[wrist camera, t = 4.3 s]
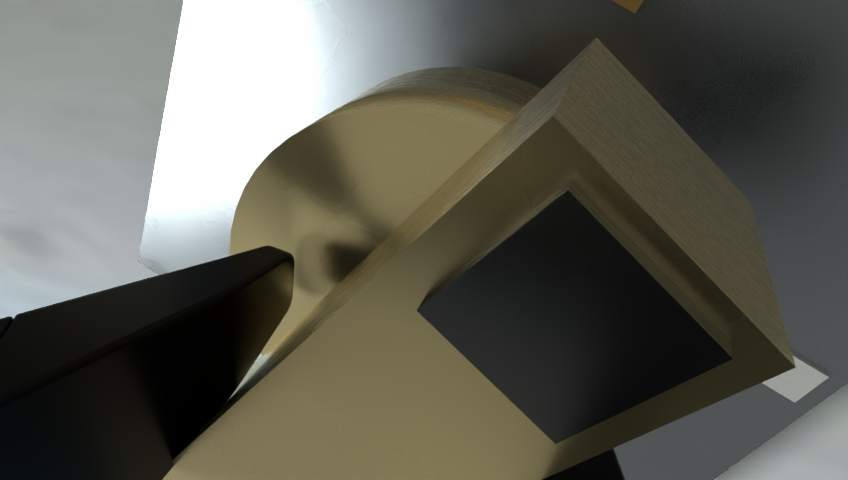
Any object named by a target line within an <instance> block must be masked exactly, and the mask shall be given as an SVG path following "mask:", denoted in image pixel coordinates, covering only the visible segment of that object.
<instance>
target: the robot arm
mask: <svg viewBox="0 0 848 480" xmlns="http://www.w3.org/2000/svg"><path fill="white" fill-rule="evenodd" d="M294 267H295V261H294V257H293V255H292V254H291V253H289V252H287V251H284V250H281V249H279V248H276V247H273V246H263V247H259V248H255V249H252V250H248V251H245V252H241V253H237V254H234V255H230V256H226V257H223V258H219V259H216V260H212V261H208V262H205V263H201V264H198V265H194V266H190V267H187V268H183V269H180V270H176V271H172V272H169V273H165V274H161V275H158V276H154V277H151V278H147V279H143V280H140V281H136V282H133V283H129V284H125V285H122V286H118V287H114V288H111V289H107V290H104V291H100V292H96V293H93V294H89V295H85V296H82V297H78V298H75V299H71V300H67V301H64V302H60V303H56V304H53V305H49V306H46V307H42V308H38V309H35V310H31V311H27V312H24V313H20V314H17V315H16V316H15V318H13V317H5V318H2V319H0V480H163V478H164V477H165V476H166V475H167V474H168V472H169V471H170V470H171V469H172V467H173V459H174V458H175V457H176V456H177V455H178V454H179V453H180V452H181V451H182V450H183V449H184V447H185V446H186V445H187V444H188V443H189V442H190V441H191V440H192V439H193V438H194V437H195V436H196V434H197V433H198V432H199V431H200V430H201V429H202V428H203V427H204V426H205V425H206V424H207V422H208V421H209V420H210V419H211V418H212V417H213V416H214V415H215V414H216V413H217V412H218V411H219V409H220V408H221V407H222V406H223V405H224V404H225V403H226V402H227V401H228V399H229V398H230V397H231V396H232V394H233V393H234V392H235V391H236V389H237V388H238V386H239V385H240V383H241V382H242V380H243V379H244V378H245V376H246V374H247V373H248V371H249V370H250V368H251V367H252V365H253V364H254V362H255V361H256V359H257V358H258V356H259V355H260V353H261V352H262V350H263V348H264V347H265V345H266V344H267V342H268V341H269V339H270V338H271V336H272V335H273V333H274V332H275V330H276V329H277V327H278V326H279V324H280V322H281V321H282V319H283V318H284V316H285V315H286V313H287V312H288V310H289V308H290V305H291V302H292V298H293V284H294ZM542 480H625V478H624V475H623V472H622V469H621V467H620V464H619V461H618V458H617V456H616V453H615V450H614V448H612V449H610V450H608V451H606V452H603V453H601V454H599V455H597V456H594V457H592V458H590V459H588V460H585V461H583V462H581V463H579V464H576V465H574V466H572V467H569V468H567V469H565V470H563V471H560V472H558V473H556V474H554V475H551V476H549V477H547V478H545V479H542Z"/></svg>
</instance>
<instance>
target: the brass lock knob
mask: <svg viewBox="0 0 848 480" xmlns="http://www.w3.org/2000/svg"><path fill="white" fill-rule="evenodd" d="M263 246H273V247H276V248H279V249H281V250H284V251H287V252H289V253H291V254H292V255H293V257H294V261H295V267H294V284H293V298H292V302H291V305H290V308H289V310H288V312H287V313H286V315H285V316H284V318H283V319H282V321H281V322H280V324H279V326H278V327H277V329H276V330H275V332H274V333H273V335H272V336H271V338H270V339H269V341H268V342H267V344H266V345H265V347H264V348H263V350H262V352H261V353H262V355H263V356H262V357H261V358H260V359H259V360H258V361H257V362H256V363H255V364H254V365H253V366H252V367H251V368H250V370H249V371H248V373H247V374H246V376H245V378H244V379H243V380H242V382H241V383H240V385H239V386H238V388H237V389H236V391H235V392H234V393H233V394H232V396H231V397H230V398H229V399H228V401H227V402H226V403H225V404H224V405H223V406H222V407H221V408H220V409H219V411H218V412H217V413H216V414H215V415H214V416H213V417H212V418H211V419H210V420H209V421H208V422H207V424H206V425H205V426H204V427H203V428H202V429H201V430H200V431H199V432H198V433H197V434H196V436H195V437H194V438H193V439H192V440H191V441H190V442H189V443H188V444H187V445H186V446H185V447H184V449H183V450H182V451H181V452H180V453H179V454H178V455H177V456H176V457H175V458H174V459H173V467H172V469H171V470H170V471H169V472H168V474H167V475H166V476H165V477H164V478H163V480H542V479H545V478H547V477H549V476H551V475H554V474H556V473H558V472H560V471H563V470H565V469H567V468H569V467H572V466H574V465H576V464H579V463H581V462H583V461H585V460H588V459H590V458H592V457H594V456H597V455H599V454H601V453H603V452H606V451H608V450H610V449H612V448H615V447H617V446H619V445H622V444H624V443H626V442H628V441H631V440H633V439H635V438H637V437H640V436H642V435H644V434H646V433H649V432H651V431H653V430H655V429H658V428H660V427H662V426H665V425H667V424H669V423H671V422H674V421H676V420H678V419H680V418H683V417H685V416H687V415H689V414H692V413H694V412H696V411H698V410H701V409H703V408H705V407H708V406H710V405H712V404H714V403H717V402H719V401H721V400H723V399H726V398H728V397H730V396H732V395H735V394H737V393H739V392H741V391H744V390H746V389H748V388H751V387H753V386H755V385H757V384H760V383H762V382H764V381H766V380H769V379H771V378H773V377H775V376H778V375H780V374H782V373H784V372H787V371H789V370H791V369H794V368H796V366H795V362H794V359H793V355H792V352H791V348H790V344H789V341H788V337H787V333H786V330H785V326H784V322H783V319H782V315H781V312H780V308H779V304H778V301H777V297H776V293H775V290H774V286H773V283H772V279H771V275H770V272H769V268H768V264H767V261H766V257H765V254H764V250H763V246H762V243H761V239H760V235H759V232H758V228H757V225H756V221H755V217H754V214H753V210H752V206H751V203H750V200H749V199H748V198H747V197H746V196H745V195H744V194H743V193H742V192H741V191H740V190H739V188H738V187H737V186H736V185H735V184H734V183H733V182H732V181H731V180H730V179H729V178H728V177H727V176H726V175H725V174H724V172H723V171H722V170H721V169H720V168H719V167H718V166H717V165H716V164H715V163H714V162H713V161H712V160H711V159H710V158H709V156H708V155H707V154H706V153H705V152H704V151H703V150H702V149H701V148H700V147H699V146H698V145H697V144H696V143H695V142H694V140H693V139H692V138H691V137H690V136H689V135H688V134H687V133H686V132H685V131H684V130H683V129H682V128H681V127H680V126H679V124H678V123H677V122H676V121H675V120H674V119H673V118H672V117H671V116H670V115H669V114H668V113H667V112H666V111H665V109H664V108H663V107H662V106H661V105H660V104H659V103H658V102H657V101H656V100H655V99H654V98H653V97H652V96H651V95H650V93H649V92H648V91H647V90H646V89H645V88H644V87H643V86H642V85H641V84H640V83H639V82H638V81H637V80H636V79H635V77H634V76H633V75H632V74H631V73H630V72H629V71H628V70H627V69H626V68H625V67H624V66H623V65H622V64H621V63H620V61H619V60H618V59H617V58H616V57H615V56H614V55H613V54H612V53H611V52H610V51H609V50H608V49H607V48H606V47H605V45H604V44H603V43H602V42H601V41H600V40H599V39H598V38H597V37H596V38H595V39H594V40H593V41H592V42H591V43H590V44H589V45H588V46H587V47H586V48H585V49H584V50H583V51H582V52H581V53H580V54H579V55H578V56H577V57H576V58H574V59H573V60H572V61H571V62H570V63H569V64H568V65H567V66H566V67H565V68H564V69H563V70H562V71H561V72H560V73H559V74H558V75H557V76H556V77H555V78H554V79H552V80H551V81H550V82H549V83H548V84H547V85H546V86H545V87H544V88H543V89H542V88H540V87H538V86H536V85H534V84H532V83H529V82H526V81H524V80H521V79H518V78H515V77H513V76H510V75H507V74H503V73H498V72H494V71H489V70H484V69H479V68H466V67H439V68H427V69H422V70H418V71H413V72H408V73H404V74H402V75H399V76H396V77H393V78H391V79H388V80H385V81H383V82H381V83H379V84H378V85H376V86H374V87H372V88H370V89H369V90H367V91H365V92H363V93H362V94H360V95H358V96H357V97H355V98H353V99H352V100H350V101H348V102H347V103H345V104H343V105H342V106H340V107H339V108H337V109H335V110H334V111H332V112H330V113H329V114H327V115H325V116H324V117H322V118H320V119H319V120H317V121H315V122H314V123H312V124H310V125H309V126H307V127H305V128H304V129H302V130H300V131H299V132H297V133H296V134H294V135H292V136H291V137H289V138H288V139H286V140H285V141H284V142H283V143H282V144H280V145H279V146H278V147H277V148H275V149H274V150H273V151H272V152H270V153H269V155H268V156H267V157H266V158H265V159H264V160H263V161H262V163H261V164H260V165H259V166H258V167H257V168H256V169H255V171H254V173H253V174H252V176H251V177H250V179H249V181H248V182H247V184H246V186H245V187H244V189H243V192H242V194H241V197H240V199H239V202H238V204H237V207H236V210H235V214H234V219H233V223H232V228H231V238H230V255H234V254H237V253H241V252H245V251H248V250H252V249H255V248H259V247H263Z"/></svg>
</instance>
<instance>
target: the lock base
mask: <svg viewBox="0 0 848 480" xmlns="http://www.w3.org/2000/svg"><path fill="white" fill-rule="evenodd" d="M596 37H597V38H598V39H599V40H600V41H601V42H602V43H603V44H604V45H605V47H606V48H607V49H608V50H609V51H610V52H611V53H612V54H613V55H614V56H615V57H616V58H617V59H618V60H619V61H620V63H621V64H622V65H623V66H624V67H625V68H626V69H627V70H628V71H629V72H630V73H631V74H632V75H633V76H634V77H635V79H636V80H637V81H638V82H639V83H640V84H641V85H642V86H643V87H644V88H645V89H646V90H647V91H648V92H649V93H650V95H651V96H652V97H653V98H654V99H655V100H656V101H657V102H658V103H659V104H660V105H661V106H662V107H663V108H664V109H665V111H666V112H667V113H668V114H669V115H670V116H671V117H672V118H673V119H674V120H675V121H676V122H677V123H678V124H679V126H680V127H681V128H682V129H683V130H684V131H685V132H686V133H687V134H688V135H689V136H690V137H691V138H692V139H693V140H694V142H695V143H696V144H697V145H698V146H699V147H700V148H701V149H702V150H703V151H704V152H705V153H706V154H707V155H708V156H709V158H710V159H711V160H712V161H713V162H714V163H715V164H716V165H717V166H718V167H719V168H720V169H721V170H722V171H723V172H724V174H725V175H726V176H727V177H728V178H729V179H730V180H731V181H732V182H733V183H734V184H735V185H736V186H737V187H738V188H739V190H740V191H741V192H742V193H743V194H744V195H745V196H746V197H747V198H748V199H749V200H750V203H751V206H752V210H753V214H754V217H755V221H756V225H757V228H758V232H759V235H760V239H761V243H762V246H763V250H764V254H765V257H766V261H767V264H768V268H769V272H770V275H771V279H772V283H773V286H774V290H775V293H776V297H777V301H778V304H779V308H780V312H781V315H782V319H783V322H784V326H785V330H786V333H787V337H788V341H789V344H790V348H791V352H792V355H793V359H794V362H795V366H796V368H794V369H791V370H789V371H787V372H784V373H782V374H780V375H778V376H775V377H773V378H771V379H769V380H766V381H764V382H762V383H760V384H757V385H755V386H753V387H751V388H748V389H746V390H744V391H741V392H739V393H737V394H735V395H732V396H730V397H728V398H726V399H723V400H721V401H719V402H717V403H714V404H712V405H710V406H708V407H705V408H703V409H701V410H698V411H696V412H694V413H692V414H689V415H687V416H685V417H683V418H680V419H678V420H676V421H674V422H671V423H669V424H667V425H665V426H662V427H660V428H658V429H655V430H653V431H651V432H649V433H646V434H644V435H642V436H640V437H637V438H635V439H633V440H631V441H628V442H626V443H624V444H622V445H619V446H617V447H615V448H614V450H615V453H616V456H617V458H618V461H619V464H620V467H621V469H622V472H623V475H624V478H625V480H713V479H715V478H716V477H717V476H719V475H720V474H721V473H723V472H724V471H726V470H727V469H728V468H730V467H731V466H733V465H734V464H735V463H737V462H738V461H740V460H741V459H742V458H744V457H745V456H746V455H748V454H749V453H751V452H752V451H753V450H755V449H756V448H758V447H759V446H760V445H762V444H763V443H764V442H766V441H767V440H769V439H770V438H771V437H773V436H774V435H776V434H777V433H778V432H780V431H781V430H783V429H784V428H785V427H787V426H788V425H789V424H791V423H792V422H794V421H795V420H796V419H798V418H799V417H801V416H802V415H803V414H805V413H806V412H807V411H809V410H810V409H812V408H813V407H814V406H816V405H817V404H819V403H820V402H821V401H823V400H824V399H826V398H827V397H828V396H830V395H831V394H832V393H834V392H835V391H837V390H838V389H839V388H841V387H842V386H844V385H845V384H846V383H848V0H184V3H183V9H182V14H181V20H180V26H179V31H178V37H177V43H176V49H175V54H174V60H173V66H172V71H171V77H170V83H169V88H168V94H167V100H166V105H165V111H164V117H163V122H162V128H161V134H160V139H159V145H158V151H157V156H156V162H155V168H154V173H153V179H152V185H151V190H150V196H149V202H148V207H147V213H146V219H145V224H144V230H143V236H142V241H141V247H140V253H139V258H138V262H140V263H141V264H143V265H144V266H146V267H147V268H149V269H151V270H152V271H154V272H155V273H157V274H158V275H161V274H165V273H169V272H172V271H176V270H180V269H183V268H187V267H190V266H194V265H198V264H201V263H205V262H208V261H212V260H216V259H219V258H223V257H226V256H230V238H231V228H232V223H233V219H234V214H235V210H236V207H237V204H238V202H239V199H240V197H241V194H242V192H243V189H244V187H245V186H246V184H247V182H248V181H249V179H250V177H251V176H252V174H253V173H254V171H255V169H256V168H257V167H258V166H259V165H260V164H261V163H262V161H263V160H264V159H265V158H266V157H267V156H268V155H269V153H270V152H272V151H273V150H274V149H275V148H277V147H278V146H279V145H280V144H282V143H283V142H284V141H285V140H286V139H288V138H289V137H291V136H292V135H294V134H296V133H297V132H299V131H300V130H302V129H304V128H305V127H307V126H309V125H310V124H312V123H314V122H315V121H317V120H319V119H320V118H322V117H324V116H325V115H327V114H329V113H330V112H332V111H334V110H335V109H337V108H339V107H340V106H342V105H343V104H345V103H347V102H348V101H350V100H352V99H353V98H355V97H357V96H358V95H360V94H362V93H363V92H365V91H367V90H369V89H370V88H372V87H374V86H376V85H378V84H379V83H381V82H383V81H385V80H388V79H391V78H393V77H396V76H399V75H402V74H404V73H408V72H413V71H418V70H422V69H427V68H439V67H466V68H479V69H484V70H489V71H494V72H498V73H503V74H507V75H510V76H513V77H515V78H518V79H521V80H524V81H526V82H529V83H532V84H534V85H536V86H538V87H540V88H542V89H543V88H544V87H545V86H546V85H547V84H548V83H549V82H550V81H551V80H552V79H554V78H555V77H556V76H557V75H558V74H559V73H560V72H561V71H562V70H563V69H564V68H565V67H566V66H567V65H568V64H569V63H570V62H571V61H572V60H573V59H574V58H576V57H577V56H578V55H579V54H580V53H581V52H582V51H583V50H584V49H585V48H586V47H587V46H588V45H589V44H590V43H591V42H592V41H593V40H594V39H595V38H596Z"/></svg>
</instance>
